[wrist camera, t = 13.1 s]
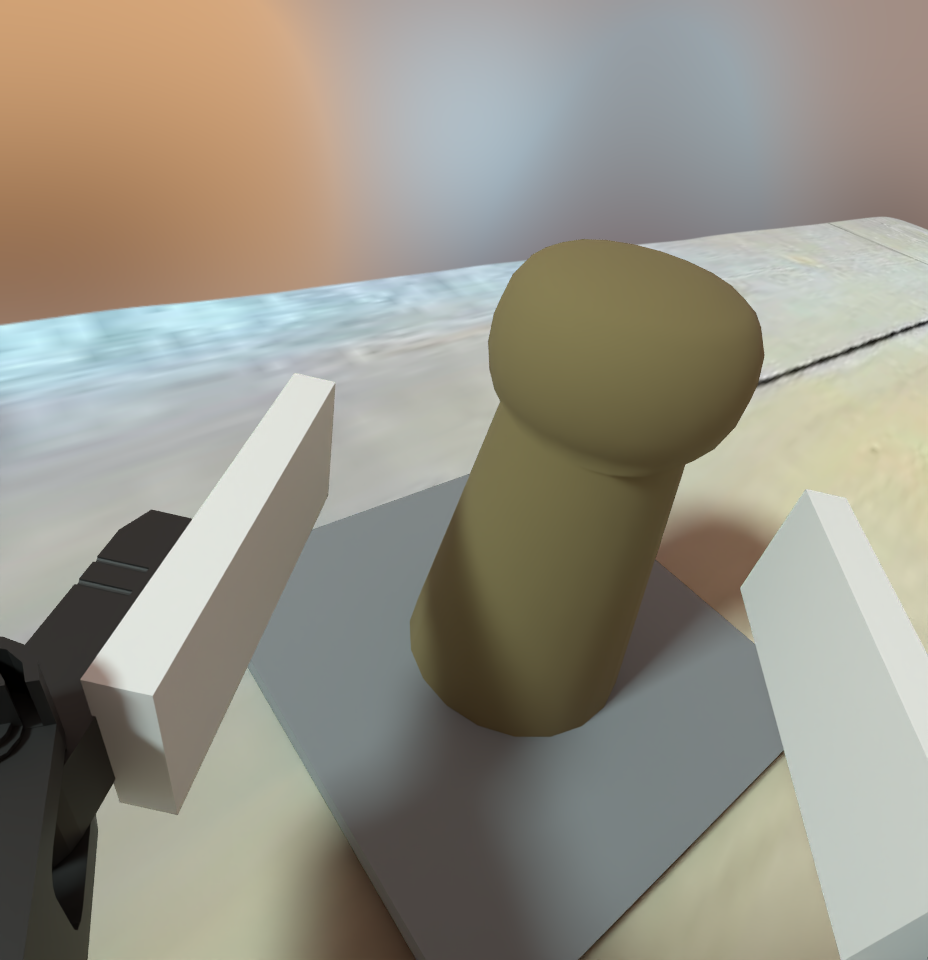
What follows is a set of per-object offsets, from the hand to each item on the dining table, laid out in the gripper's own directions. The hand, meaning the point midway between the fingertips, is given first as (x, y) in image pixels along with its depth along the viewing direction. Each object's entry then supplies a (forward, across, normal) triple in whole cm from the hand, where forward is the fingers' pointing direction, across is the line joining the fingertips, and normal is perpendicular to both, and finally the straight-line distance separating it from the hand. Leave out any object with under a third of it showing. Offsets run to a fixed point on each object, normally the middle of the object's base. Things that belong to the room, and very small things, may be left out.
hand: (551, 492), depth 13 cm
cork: (+2, +1, -7) cm, 8 cm away
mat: (+2, +1, -8) cm, 8 cm away
